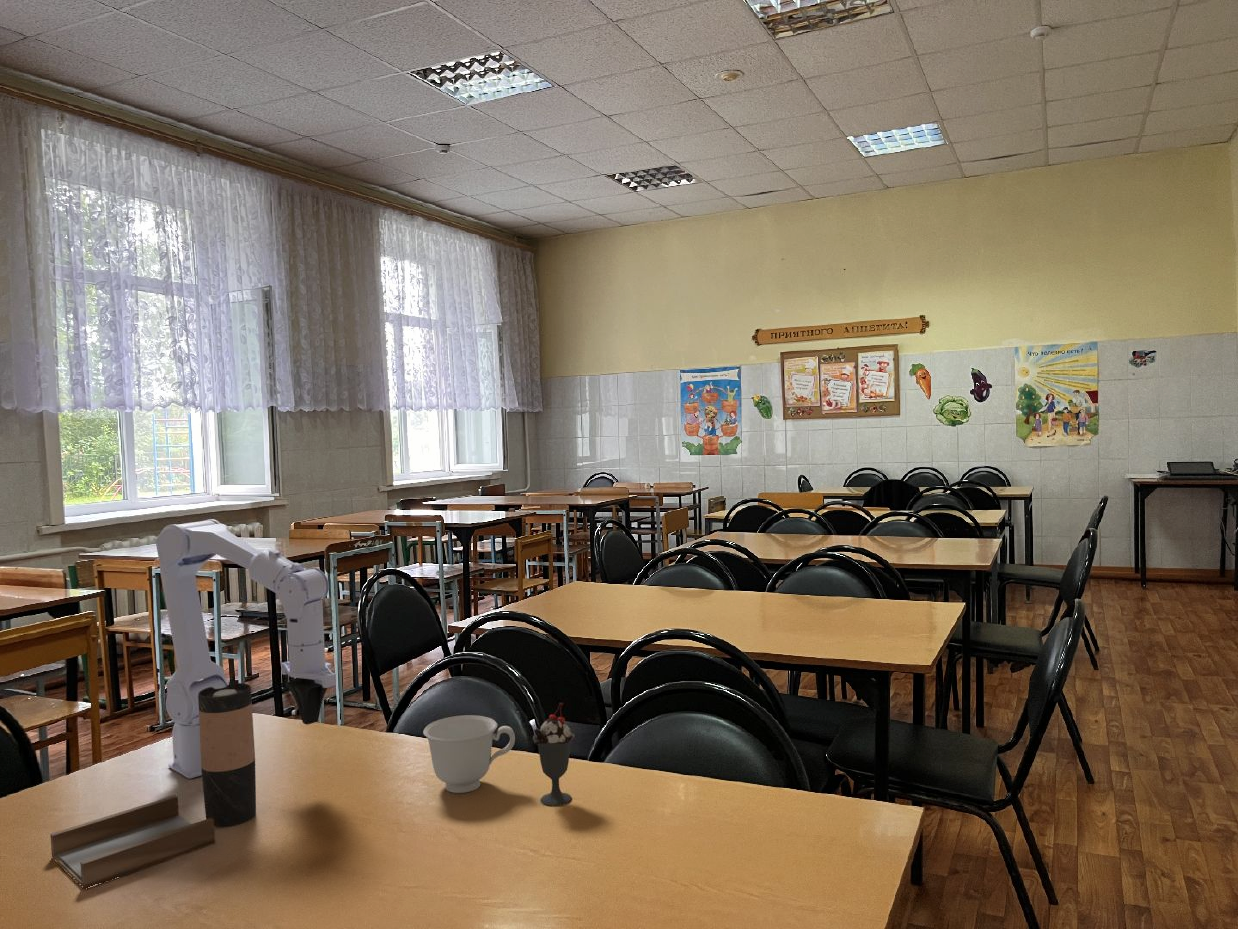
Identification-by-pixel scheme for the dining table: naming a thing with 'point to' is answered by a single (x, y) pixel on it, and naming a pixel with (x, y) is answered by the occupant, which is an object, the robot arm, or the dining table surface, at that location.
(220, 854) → the dining table surface
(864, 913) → the dining table surface
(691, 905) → the dining table surface
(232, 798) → the travel mug
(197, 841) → the u rest
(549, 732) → the sundae
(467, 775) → the teacup
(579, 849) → the dining table surface
